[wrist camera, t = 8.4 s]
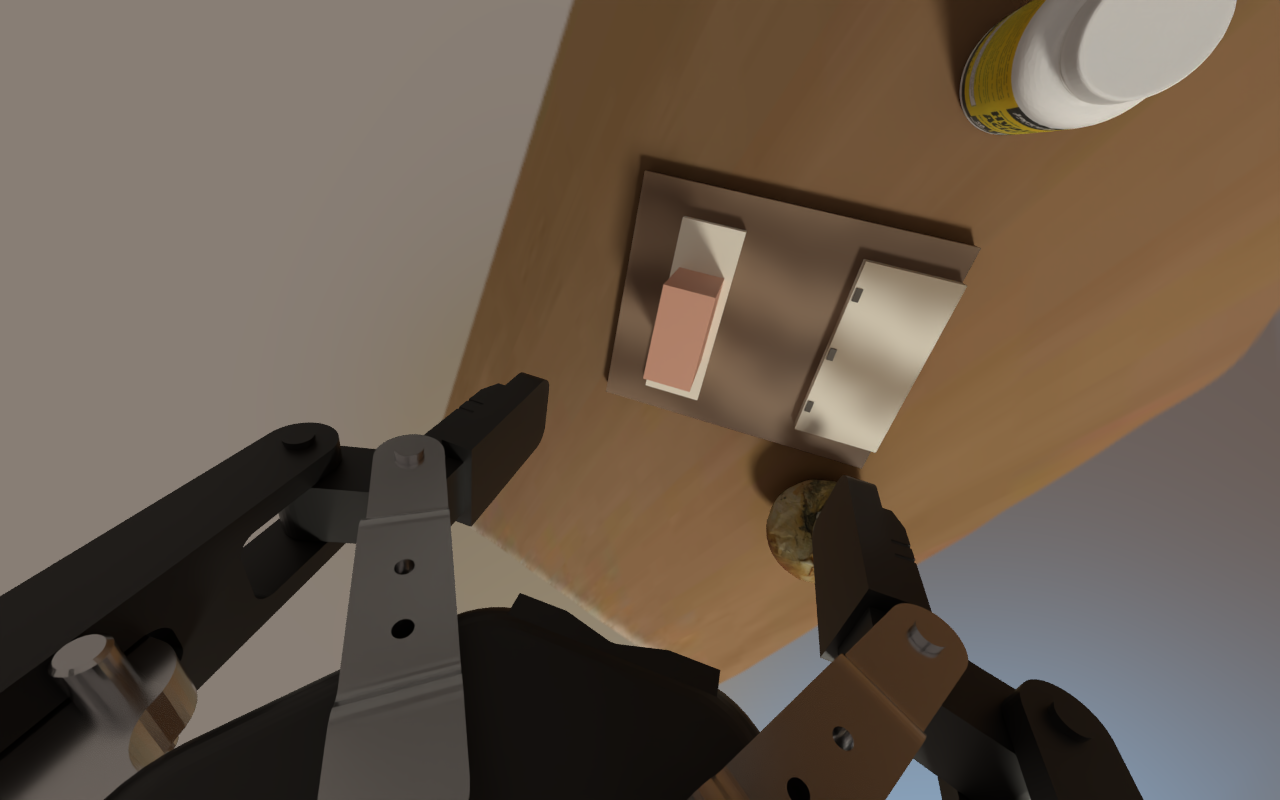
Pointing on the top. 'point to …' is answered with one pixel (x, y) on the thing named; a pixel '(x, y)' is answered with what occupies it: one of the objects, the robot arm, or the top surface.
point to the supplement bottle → (1084, 60)
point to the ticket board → (794, 317)
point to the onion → (797, 526)
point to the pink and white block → (692, 306)
